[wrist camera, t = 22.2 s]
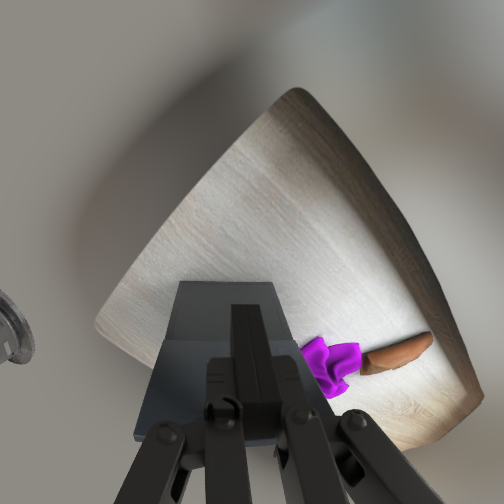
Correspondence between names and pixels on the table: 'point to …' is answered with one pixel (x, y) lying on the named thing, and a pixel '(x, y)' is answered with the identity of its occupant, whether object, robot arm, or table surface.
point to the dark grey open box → (222, 310)
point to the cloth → (332, 364)
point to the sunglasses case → (395, 355)
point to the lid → (204, 384)
